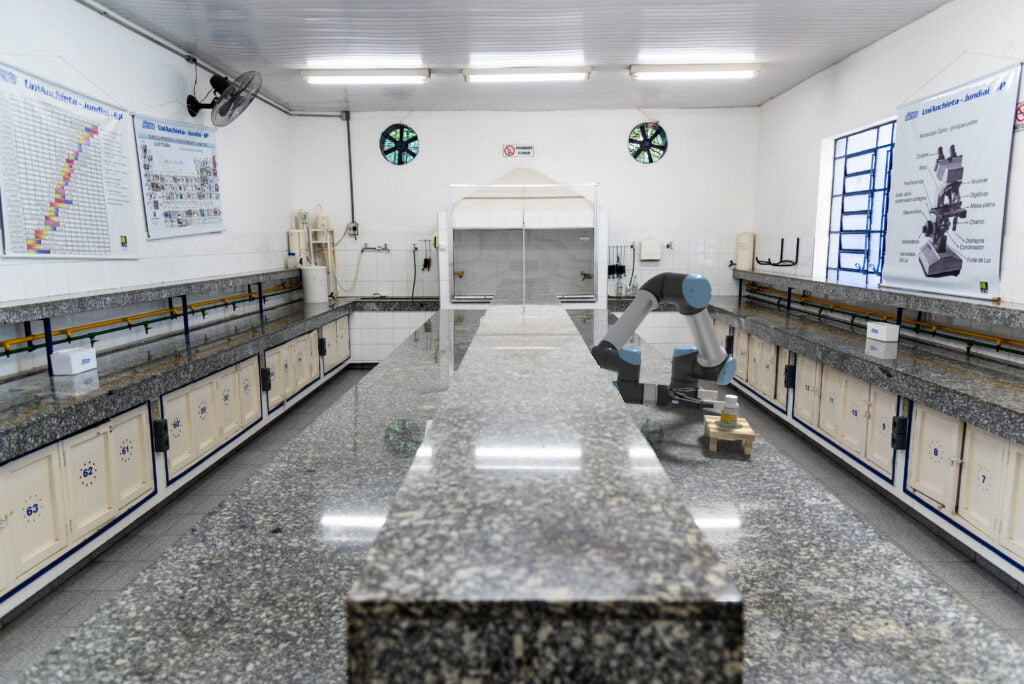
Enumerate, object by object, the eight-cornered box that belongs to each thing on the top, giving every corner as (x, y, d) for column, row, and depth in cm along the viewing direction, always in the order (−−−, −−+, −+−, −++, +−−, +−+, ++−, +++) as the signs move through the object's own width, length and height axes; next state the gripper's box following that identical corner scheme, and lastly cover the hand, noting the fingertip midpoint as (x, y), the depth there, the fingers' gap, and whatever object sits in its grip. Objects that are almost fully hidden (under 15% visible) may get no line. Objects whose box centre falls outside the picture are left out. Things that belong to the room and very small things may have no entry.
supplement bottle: (723, 420, 212) (726, 393, 210) (739, 424, 209) (742, 396, 207) (717, 423, 208) (720, 396, 206) (733, 427, 205) (736, 399, 203)
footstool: (702, 433, 220) (704, 414, 218) (743, 437, 217) (745, 418, 216) (708, 451, 202) (710, 430, 201) (753, 455, 200) (755, 434, 198)
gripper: (653, 396, 224) (713, 401, 220) (657, 416, 199) (725, 422, 196) (655, 376, 222) (716, 380, 219) (659, 394, 198) (727, 399, 195)
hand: (720, 400), depth 207 cm, fingers open, 13 cm apart
